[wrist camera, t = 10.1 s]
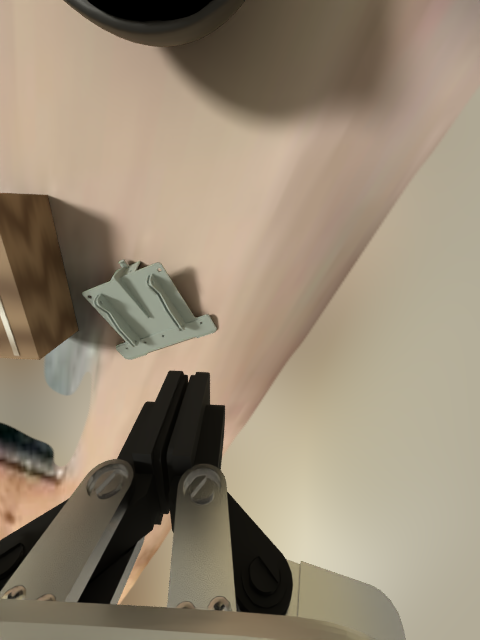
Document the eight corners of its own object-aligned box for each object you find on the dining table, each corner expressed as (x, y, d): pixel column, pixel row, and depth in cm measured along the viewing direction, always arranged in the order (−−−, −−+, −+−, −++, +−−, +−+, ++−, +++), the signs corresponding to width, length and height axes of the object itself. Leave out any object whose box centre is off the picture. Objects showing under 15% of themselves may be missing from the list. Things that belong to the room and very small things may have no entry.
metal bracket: (55, 301, 32) (168, 256, 29) (75, 276, 36) (175, 236, 34) (128, 373, 40) (220, 343, 38) (137, 346, 45) (220, 318, 42)
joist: (6, 193, 32) (-68, 190, 25) (47, 195, 32) (-14, 193, 24) (44, 328, 39) (-3, 358, 32) (78, 330, 39) (38, 360, 32)
